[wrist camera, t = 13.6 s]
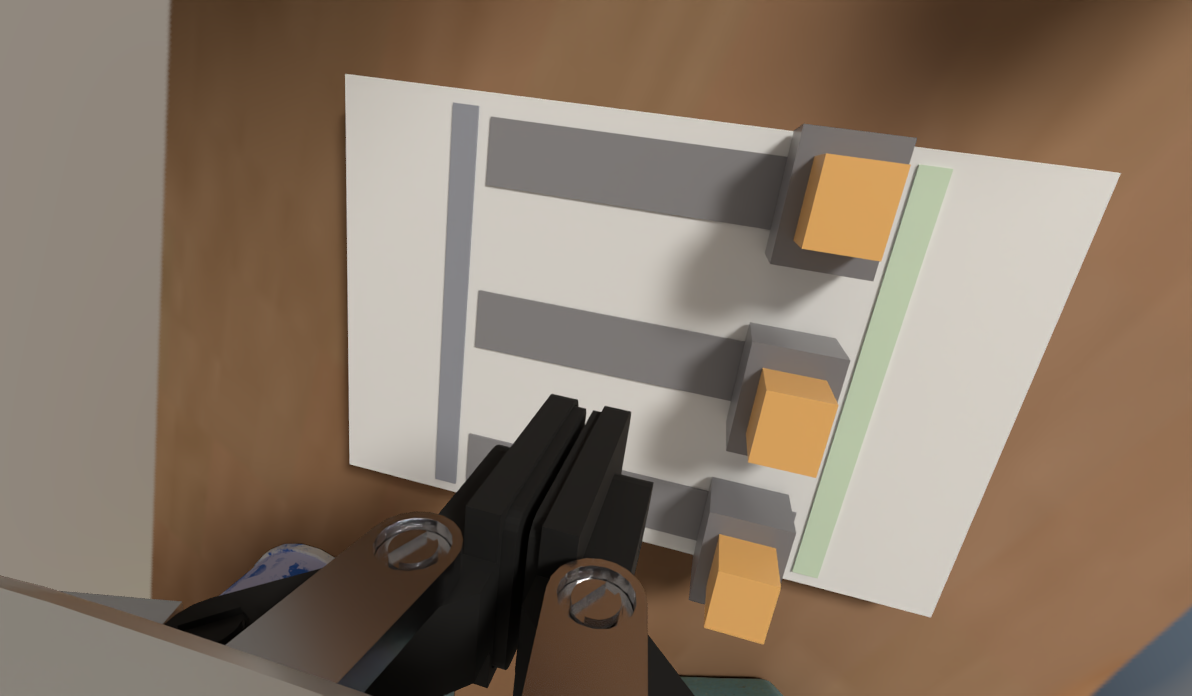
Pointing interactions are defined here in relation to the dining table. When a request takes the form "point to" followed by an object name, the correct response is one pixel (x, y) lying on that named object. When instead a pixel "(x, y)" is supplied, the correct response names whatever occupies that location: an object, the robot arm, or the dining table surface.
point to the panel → (693, 313)
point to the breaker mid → (785, 398)
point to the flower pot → (730, 687)
